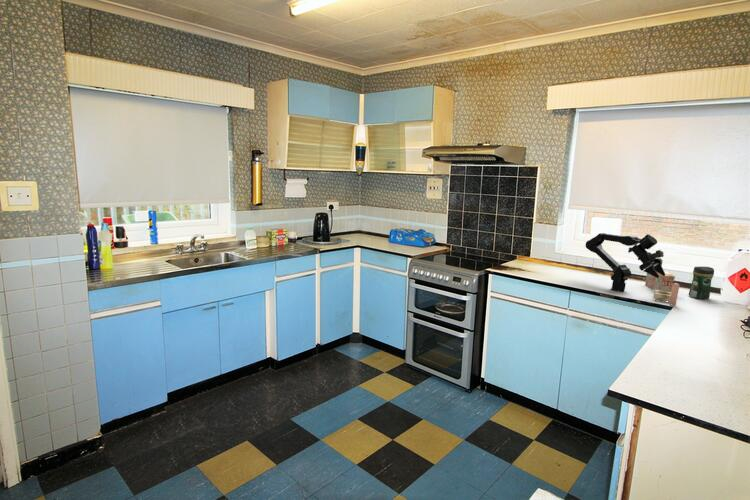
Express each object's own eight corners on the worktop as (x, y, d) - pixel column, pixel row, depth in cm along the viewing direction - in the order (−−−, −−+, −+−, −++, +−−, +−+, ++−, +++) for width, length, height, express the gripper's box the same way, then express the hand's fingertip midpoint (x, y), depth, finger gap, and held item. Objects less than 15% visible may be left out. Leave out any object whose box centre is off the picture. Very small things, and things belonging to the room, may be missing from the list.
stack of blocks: (644, 285, 272) (648, 266, 270) (655, 285, 271) (658, 267, 269) (659, 295, 252) (663, 275, 249) (671, 296, 251) (675, 275, 248)
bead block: (653, 300, 241) (655, 293, 240) (653, 296, 249) (654, 289, 248) (673, 303, 237) (674, 296, 236) (672, 299, 244) (673, 292, 243)
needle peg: (669, 305, 234) (673, 283, 231) (668, 303, 236) (673, 281, 233) (675, 306, 232) (680, 284, 229) (675, 304, 235) (679, 282, 232)
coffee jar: (700, 295, 254) (706, 265, 250) (711, 299, 246) (718, 268, 242) (685, 295, 253) (691, 264, 249) (695, 299, 245) (702, 268, 241)
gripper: (648, 247, 233) (668, 270, 227) (660, 244, 245) (680, 266, 238) (630, 259, 241) (650, 281, 234) (643, 255, 252) (662, 277, 245)
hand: (661, 276), depth 238 cm, fingers open, 9 cm apart
